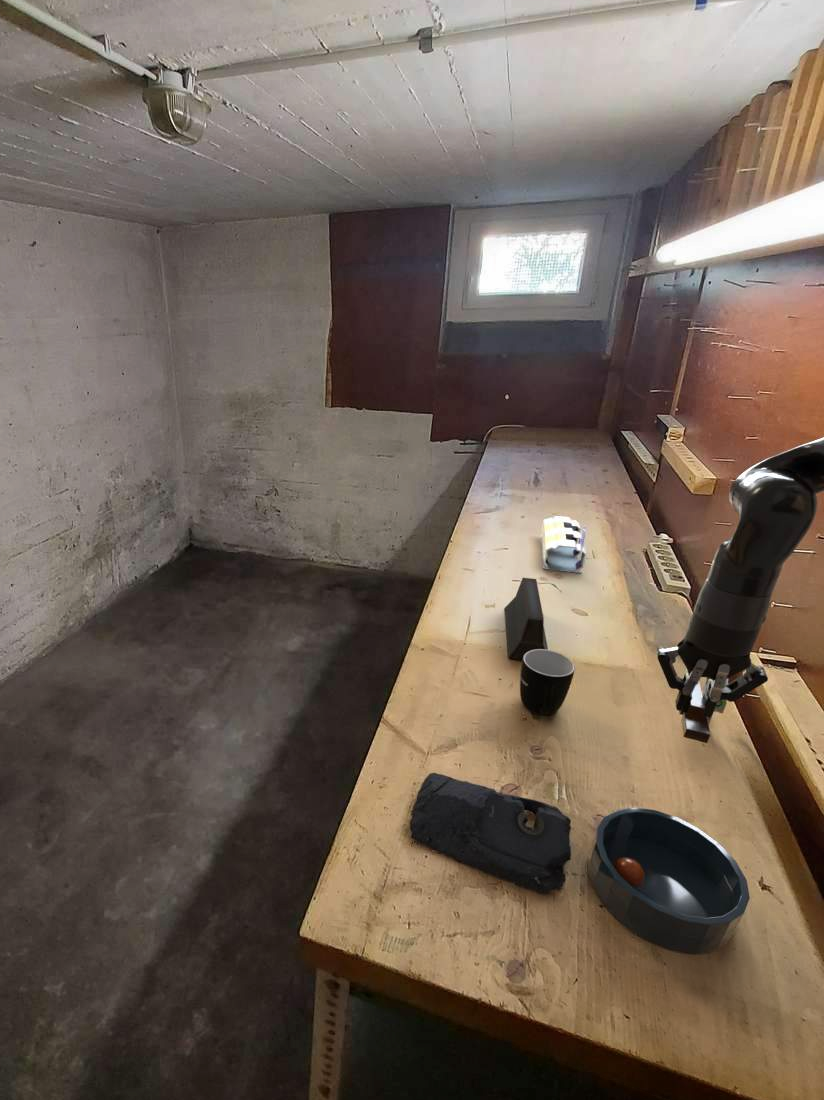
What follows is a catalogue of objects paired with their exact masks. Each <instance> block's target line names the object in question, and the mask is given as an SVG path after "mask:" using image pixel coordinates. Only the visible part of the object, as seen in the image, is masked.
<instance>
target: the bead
mask: <svg viewBox="0 0 824 1100" xmlns="http://www.w3.org/2000/svg"><path fill="white" fill-rule="evenodd" d="M613 866H614V868H615V869H616V871H617V872H618V874H619V875H620V876H621V877H622V878H623V879H624V880H625V881H626V882H627V883H628V884H630V885H631V886H632V887H633V888H634V887H638V886H640V885H641V884H642V883H643V881H644V871H643V869H642V867H641V865H640V864H639V863H638V862H637V861H635V860H633V859H631V858H628V857H622V858H619V859H617V860H616V861H615V863H614V865H613Z"/></svg>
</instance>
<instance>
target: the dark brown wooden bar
mask: <svg viewBox="0 0 824 1100" xmlns="http://www.w3.org/2000/svg"><path fill="white" fill-rule="evenodd" d="M703 694H704V693H703V690H702V685H701V679H700V680H699V682H698V684H697V685H696V686H695V688H694V690H693V692H692V700H691V702H690V704H689V707H688V710H687V712H684V714H683V715H682V717H681V718H680V719H681V720H680V721H681V730H682V736H683V738H684V739H689V740H694V741H696V742H701V743H704V744H708V742H709V739H710V737H711V729H710V726H709V725H710V724H709V725H708V720H707V717H703V714H704V712H705V705H704V700H703Z"/></svg>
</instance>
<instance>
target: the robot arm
mask: <svg viewBox="0 0 824 1100" xmlns="http://www.w3.org/2000/svg"><path fill="white" fill-rule="evenodd" d="M822 492H824V437H821V438H819V439H816V440H813V441H810V442H807V443H804V444H802V445H798V446H797V447H796V446H795V447H794V448H791V449H788V450H786V451H783V452H780V453H779V454H776V455H773V456H771V457H768V458H766V459H764V460H762V461H760V462H758V463H756V464H755V465H753V466H751V467H749V468H748V469H746V470H745V471H743V472H742V473H741V474H740V475H739V476H738V477H737V478H736V479H735V480H734V481H733V482H732V484H731V486H730V487H729V490H728V502H729V504H730V506H731V508H732V509H733V510H734V512H736V513H737V515H738V516H739V519H738V523H737V525H736V528H735V530H734V532H733V534H732V537H731V538H729V539H726V540H724V541H723V542H721V544H720V545H719V546H718V547H717V550H716V551H715V554H714V557H713V559H712V562H711V566H710V568H709V571H708V574H707V577H706V579H705V581H704V583H703V586H702V587H701V589H700V591H699V593H698V596H697V600H696V602H695V605H694V609H693V611H692V613H691V617H690V620H689V623H688V626H687V629H686V631H685V635H684V637H683V639H682V640H681V641H679V642H678V643H677V645H676V646H674V647H668V648H666V647H665V646H658V647H657V648H656V657H657V661H658V663H659V665H660V668H661V670H662V673H663V675H664V678H665V679H666V682H667V684H668V687H669V688H670V689H672V690H678V693H677V695H676V699H675V709H676V711H678V712H679V713H678V714H679V715H680V716H683V714H684V712H687V710H688V707H689V704H690V702H691V700H692V692H693V690H694V688H695V686H696V685H697V684H698V682H699V680H700V681H701V678H710V680H709V684H708V687H707V690H708V691H707V692H704V691H703V694H704V695H703V700H704V705H705V712H704V714H703V717H708V718H710V717H711V716H712V717H713V715H714V713H713V712H714V709H715V707H716V704H717V702H718V701H720V700H727V701H728V702H730V703H734V702H736V701H738V700H739V699H741V698H742V697H744V696H746V695H747V694H749V693H750V692H752V691H754V690H755V689H757V688H759V687H761V686H762V685H764V684H765V683H768V681H769V677H768V675H767V672H766V669H765V667H764V666H761V665H756V664H754V663H753V662H752V658H751V653H752V650H753V649H754V646H755V643H756V642H757V641H756V640H757V639H758V636H759V634H760V631H761V629H762V627H763V624H764V623H765V622H766V620H767V614H768V611H769V609H770V604H771V598H772V595H773V592H774V590H775V587H776V585H777V582H778V580H779V577H780V575H781V572H782V569H783V566H784V564H785V563H786V561H787V560H788V559H789V557H791V556H792V554H793V553H794V551H795V550H796V549H797V548H798V546H799V545H800V543H801V542H802V540H803V539H804V538H805V536H806V535H807V533H808V532H809V530H810V528H811V526H812V524H813V523H814V520H815V518H816V514H817V510H818V497H817V494H819V493H822ZM677 657H679V658H680V660H681V661H682V664H683V665H684V667H685V670H684V674H683V676H682V678H681V677H680V676H678V673H677V672H676V669H675V667H674V663H676V661H677V659H676V658H677ZM741 672H742V675H739V676H738V677H737V678H735V679H733V680H732V681H731V682H728V684H727V685H726V686H725V683H726V679H728V680H729V678H732V677H733V676H735V675H738V674H739V673H741ZM712 714H713V715H712Z"/></svg>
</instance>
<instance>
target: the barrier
mask: <svg viewBox="0 0 824 1100" xmlns="http://www.w3.org/2000/svg"><path fill="white" fill-rule="evenodd" d="M541 602H542V601H541V597H540V591H539V586H538V582H537V578H530V577H522V579H521V581H520V584H519V586H518V590H517V592H516V594H515V596H514V597H513V598H512V599H511V601H510V602H509V603H508V604H507V605H506V606H504V610H503V611H504V623H505V636H506V651H507V658H508V659H512V660H517V661H522V660H523V657H524V655H525V654H526V653H527V652H529V651H531V650H535V649H545V650H549V647H548V641H547V636H546V632H545V626H544V621H545V620H544V619H545V617H544V612H543V607H542V603H541Z"/></svg>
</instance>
